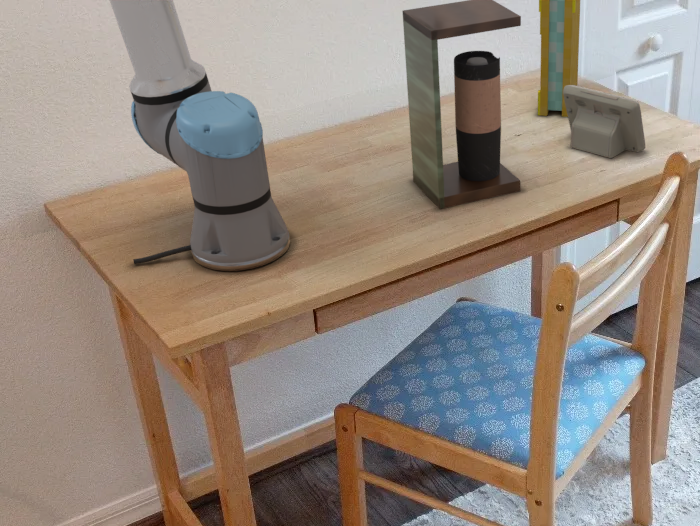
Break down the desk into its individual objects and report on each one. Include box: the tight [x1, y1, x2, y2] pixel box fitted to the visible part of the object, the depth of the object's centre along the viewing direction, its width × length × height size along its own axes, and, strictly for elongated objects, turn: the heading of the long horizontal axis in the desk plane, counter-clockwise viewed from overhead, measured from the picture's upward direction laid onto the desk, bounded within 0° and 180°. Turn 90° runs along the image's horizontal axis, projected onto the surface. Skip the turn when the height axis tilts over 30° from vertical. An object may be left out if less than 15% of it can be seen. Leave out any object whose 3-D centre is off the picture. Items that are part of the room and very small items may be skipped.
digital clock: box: [563, 85, 646, 159], centre depth 183 cm, size 16×9×11 cm, turn 39°
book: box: [537, 0, 581, 118], centre depth 198 cm, size 17×7×25 cm, turn 168°
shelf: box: [402, 0, 522, 210], centre depth 165 cm, size 15×12×30 cm
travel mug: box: [453, 50, 502, 181], centre depth 168 cm, size 8×8×20 cm
